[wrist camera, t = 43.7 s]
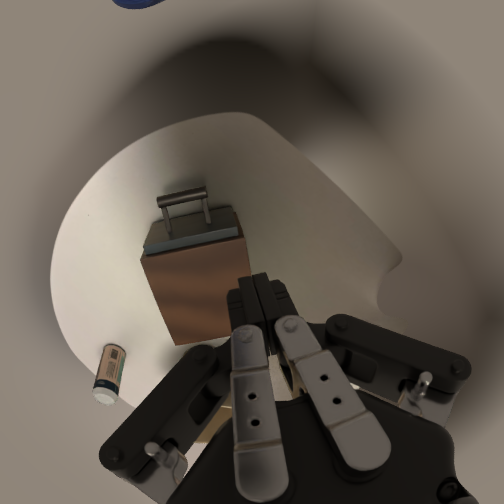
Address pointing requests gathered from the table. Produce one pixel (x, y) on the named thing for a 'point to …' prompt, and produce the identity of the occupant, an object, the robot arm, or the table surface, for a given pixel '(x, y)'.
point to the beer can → (109, 375)
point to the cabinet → (197, 286)
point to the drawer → (189, 224)
